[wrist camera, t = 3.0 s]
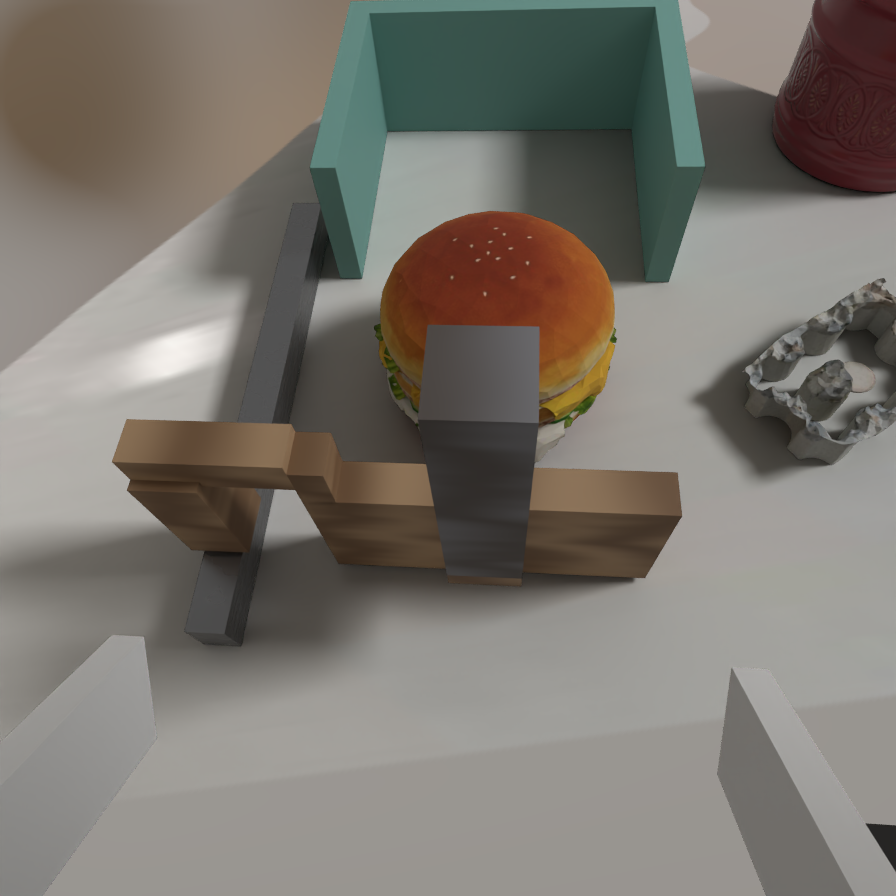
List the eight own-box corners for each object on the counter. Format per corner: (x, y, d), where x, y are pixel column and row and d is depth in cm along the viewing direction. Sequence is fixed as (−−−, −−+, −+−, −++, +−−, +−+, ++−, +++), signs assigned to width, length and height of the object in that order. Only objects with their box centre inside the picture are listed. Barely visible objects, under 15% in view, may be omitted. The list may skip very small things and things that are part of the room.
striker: (641, 532, 36) (777, 259, 19) (648, 636, 34) (814, 430, 16) (222, 515, 38) (-6, 253, 21) (198, 612, 36) (-86, 405, 18)
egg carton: (854, 315, 43) (886, 269, 40) (951, 401, 40) (996, 358, 36) (719, 387, 41) (740, 345, 38) (809, 484, 38) (842, 448, 34)
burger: (563, 275, 46) (579, 145, 37) (643, 443, 40) (685, 334, 31) (369, 322, 45) (338, 201, 36) (417, 503, 39) (394, 408, 30)
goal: (649, 116, 53) (676, -7, 45) (668, 281, 45) (705, 166, 37) (371, 119, 55) (350, 1, 47) (340, 278, 47) (309, 167, 39)
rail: (329, 230, 49) (321, 203, 47) (241, 646, 35) (224, 634, 33) (302, 230, 49) (293, 203, 47) (203, 643, 35) (184, 631, 33)
